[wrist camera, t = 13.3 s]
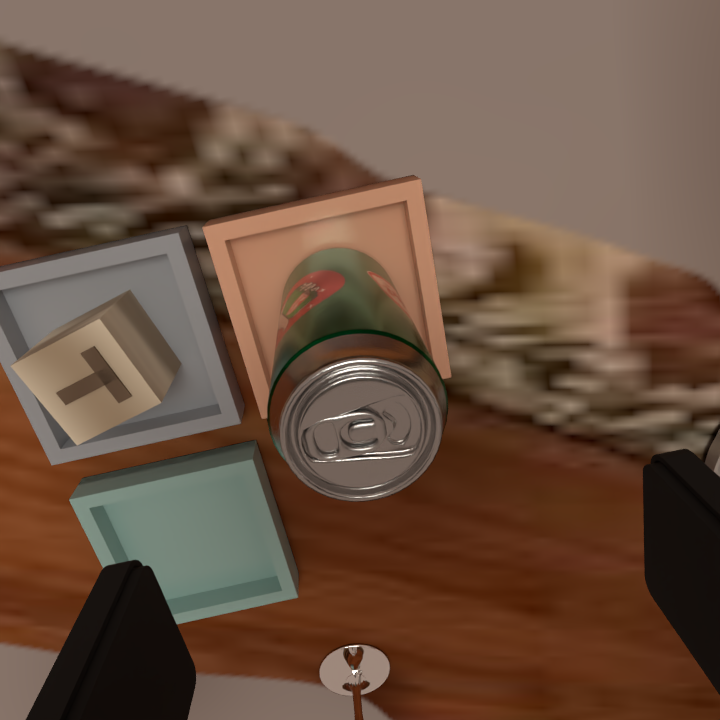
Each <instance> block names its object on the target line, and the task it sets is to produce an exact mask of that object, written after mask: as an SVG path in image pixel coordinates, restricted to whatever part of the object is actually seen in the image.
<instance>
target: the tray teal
mask: <svg viewBox="0 0 720 720" xmlns="http://www.w3.org/2000/svg"><path fill="white" fill-rule="evenodd" d="M69 501H70V503H71V505H72V507H73V509H74V511H75V513H76V515H77V517H78V519H79V521H80V523H81V525H82V527H83V529H84V531H85V533H86V535H87V537H88V539H89V541H90V543H91V545H92V547H93V549H94V551H95V553H96V555H97V557H98V559H99V561H100V563H101V565H102V567H103V568H104V567H105V566H107V565H111V564H116V563H121V562H126V561H131V560H139V561H140V562H141V563H142V565H143V566H146V565H147V566H150V567H151V568H152V570H153V572H154V574H155V576H156V579H157V581H158V583H159V585H160V588H161V590H162V592H163V595H164V597H165V599H166V601H167V604H168V606H169V608H170V610H171V613H172V615H173V617H174V620H175V622H176V624H180V623H184V622H189V621H194V620H198V619H203V618H207V617H212V616H216V615H221V614H225V613H230V612H235V611H239V610H244V609H248V608H253V607H257V606H262V605H266V604H271V603H275V602H280V601H285V600H289V599H294V598H298V581H299V573H298V570H297V567H296V563H295V560H294V557H293V554H292V551H291V548H290V545H289V542H288V539H287V535H286V532H285V529H284V526H283V523H282V520H281V517H280V514H279V510H278V507H277V504H276V501H275V498H274V495H273V492H272V489H271V486H270V482H269V479H268V476H267V473H266V470H265V467H264V464H263V461H262V458H261V454H260V451H259V448H258V445H257V442H256V440H253V441H249V442H244V443H240V444H235V445H231V446H226V447H222V448H217V449H213V450H208V451H203V452H199V453H194V454H190V455H185V456H181V457H176V458H172V459H167V460H163V461H158V462H154V463H149V464H145V465H140V466H135V467H131V468H126V469H122V470H117V471H113V472H108V473H104V474H99V475H95V476H90V477H86V478H82V480H81V481H80V483H79V485H78V486H77V488H76V489H75V491H74V493H73V494H72V496H71V497H70V499H69Z"/></svg>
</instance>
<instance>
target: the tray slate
mask: <svg viewBox="0 0 720 720" xmlns="http://www.w3.org/2000/svg"><path fill="white" fill-rule="evenodd" d="M128 290H131V291H132V293H133V294H134V296H135V297H136V299H137V300H138V302H139V303H140V304H141V306H142V307H143V309H144V310H145V312H146V313H147V314H148V316H149V317H150V319H151V320H152V322H153V323H154V324H155V326H156V327H157V329H158V330H159V332H160V333H161V335H162V336H163V337H164V339H165V340H166V342H167V343H168V345H169V346H170V347H171V349H172V350H173V352H174V353H175V355H176V356H177V358H178V359H179V360H180V362H181V363H182V364H181V366H180V368H179V370H178V372H177V374H176V375H175V377H174V379H173V381H172V383H171V385H170V387H169V389H168V391H167V393H166V395H165V397H164V399H163V401H162V403H160V404H158V405H156V406H154V407H152V408H150V409H148V410H146V411H144V412H142V413H140V414H138V415H136V416H134V417H132V418H130V419H128V420H126V421H124V422H122V423H121V424H119V425H117V426H115V427H113V428H111V429H109V430H107V431H105V432H103V433H101V434H99V435H97V436H95V437H93V438H91V439H89V440H87V441H85V442H83V443H81V444H79V445H76V444H75V443H74V441H73V440H72V439H71V438H70V437H69V435H68V434H67V433H66V432H65V431H64V429H63V428H62V427H61V426H60V425H59V423H58V422H57V421H56V420H55V419H54V418H53V416H52V415H51V414H50V413H49V412H48V410H47V409H46V408H45V407H44V406H43V404H42V403H41V402H40V401H39V400H38V398H37V397H36V396H35V395H34V394H33V392H32V391H31V390H30V389H29V388H28V387H27V385H26V384H25V383H24V382H23V381H22V379H21V378H20V377H19V376H18V375H17V373H16V372H15V371H14V370H13V369H12V367H11V365H12V364H13V363H14V362H16V361H17V360H18V359H19V358H20V357H22V356H23V355H24V354H25V353H26V352H28V351H29V350H30V349H31V348H32V347H34V346H35V345H36V344H37V343H38V342H40V341H41V340H42V339H43V338H45V337H46V336H47V335H48V334H49V333H51V332H52V331H53V330H55V329H57V328H58V327H60V326H62V325H64V324H66V323H68V322H70V321H72V320H73V319H75V318H77V317H79V316H81V315H83V314H85V313H87V312H88V311H90V310H92V309H94V308H96V307H98V306H100V305H102V304H103V303H105V302H107V301H109V300H111V299H113V298H115V297H117V296H118V295H120V294H122V293H124V292H126V291H128ZM0 362H1V364H2V366H3V368H4V370H5V372H6V374H7V376H8V378H9V380H10V382H11V384H12V386H13V388H14V390H15V392H16V394H17V396H18V398H19V400H20V402H21V404H22V406H23V408H24V410H25V412H26V414H27V416H28V418H29V420H30V422H31V424H32V426H33V428H34V430H35V432H36V434H37V436H38V439H39V441H40V443H41V445H42V447H43V449H44V451H45V453H46V455H47V457H48V459H49V461H50V463H51V465H55V464H60V463H65V462H69V461H74V460H78V459H83V458H87V457H92V456H96V455H101V454H105V453H110V452H114V451H119V450H123V449H128V448H133V447H137V446H142V445H146V444H151V443H155V442H160V441H164V440H169V439H173V438H178V437H182V436H187V435H191V434H196V433H201V432H205V431H210V430H214V429H219V428H223V427H228V426H232V425H237V424H241V421H242V417H243V412H244V407H245V405H244V402H243V398H242V395H241V392H240V389H239V386H238V383H237V380H236V377H235V374H234V370H233V367H232V364H231V361H230V358H229V355H228V352H227V349H226V346H225V342H224V339H223V336H222V333H221V330H220V327H219V324H218V321H217V317H216V314H215V311H214V308H213V305H212V302H211V299H210V296H209V293H208V289H207V286H206V283H205V280H204V277H203V274H202V271H201V268H200V265H199V261H198V258H197V255H196V252H195V249H194V246H193V243H192V240H191V237H190V233H189V230H188V227H187V225H185V226H180V227H176V228H171V229H167V230H162V231H158V232H153V233H149V234H144V235H140V236H135V237H131V238H126V239H122V240H117V241H113V242H108V243H104V244H99V245H95V246H90V247H86V248H81V249H77V250H72V251H68V252H63V253H59V254H54V255H49V256H45V257H40V258H36V259H31V260H27V261H22V262H18V263H13V264H9V265H4V266H0Z"/></svg>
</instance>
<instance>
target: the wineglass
mask: <svg viewBox="0 0 720 720" xmlns="http://www.w3.org/2000/svg"><path fill="white" fill-rule="evenodd" d="M389 672H390V663H389V660H388V658H387V656H386V655H385V654H384V653H383V652H382V651H381V650H379V649H377V648H375V647H373V646H370V645H365V644H351V645H346V646H342V647H340V648H338V649H335V650H334V651H332V652H331V653H329V654H328V655H327V656H326V657H325V658H324V659H323V661H322V663H321V665H320V669H319V676H320V679H321V682H322V683H323V685H324V686H325V687H326V688H327V689H329V690H330V691H332V692H334V693H336V694H340V695H344V696H353V701H354V711H355V720H363V715H362V704H361V695H363V694H367V693H369V692H372V691H374V690H375V689H377V688H378V687H380V686H381V685H382V684H383V683H384V682H385V681H386V679H387V677H388V675H389Z"/></svg>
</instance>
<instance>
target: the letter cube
mask: <svg viewBox="0 0 720 720" xmlns="http://www.w3.org/2000/svg"><path fill="white" fill-rule="evenodd" d="M181 364H182V363H181V362H180V360H179V359H178V358H177V356H176V355H175V353H174V352H173V350H172V349H171V347H170V346H169V345H168V343H167V342H166V340H165V339H164V337H163V336H162V335H161V333H160V332H159V330H158V329H157V327H156V326H155V324H154V323H153V322H152V320H151V319H150V317H149V316H148V314H147V313H146V312H145V310H144V309H143V307H142V306H141V304H140V303H139V302H138V300H137V299H136V297H135V296H134V294H133V293H132V291H131V290H128V291H126V292H124V293H122V294H120V295H118V296H117V297H115V298H113V299H111V300H109V301H107V302H105V303H103V304H102V305H100V306H98V307H96V308H94V309H92V310H90V311H88V312H87V313H85V314H83V315H81V316H79V317H77V318H75V319H73V320H72V321H70V322H68V323H66V324H64V325H62V326H60V327H58V328H57V329H55V330H53V331H52V332H51V333H49V334H48V335H47V336H46V337H45V338H43V339H42V340H41V341H40V342H38V343H37V344H36V345H35V346H34V347H32V348H31V349H30V350H29V351H28V352H26V353H25V354H24V355H23V356H22V357H20V358H19V359H18V360H17V361H16V362H14V363H13V364H12V365H11V367H12V369H13V370H14V371H15V372H16V373H17V375H18V376H19V377H20V378H21V379H22V381H23V382H24V383H25V384H26V385H27V387H28V388H29V389H30V390H31V391H32V392H33V394H34V395H35V396H36V397H37V398H38V400H39V401H40V402H41V403H42V404H43V406H44V407H45V408H46V409H47V410H48V412H49V413H50V414H51V415H52V416H53V418H54V419H55V420H56V421H57V422H58V423H59V425H60V426H61V427H62V428H63V429H64V431H65V432H66V433H67V434H68V435H69V437H70V438H71V439H72V440H73V441H74V443H75V444H76V445H79V444H81V443H83V442H85V441H87V440H89V439H91V438H93V437H95V436H97V435H99V434H101V433H103V432H105V431H107V430H109V429H111V428H113V427H115V426H117V425H119V424H121V423H122V422H124V421H126V420H128V419H130V418H132V417H134V416H136V415H138V414H140V413H142V412H144V411H146V410H148V409H150V408H152V407H154V406H156V405H158V404H160V403H162V401H163V399H164V397H165V395H166V393H167V391H168V389H169V387H170V385H171V383H172V381H173V379H174V377H175V375H176V374H177V372H178V370H179V368H180V366H181Z"/></svg>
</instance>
